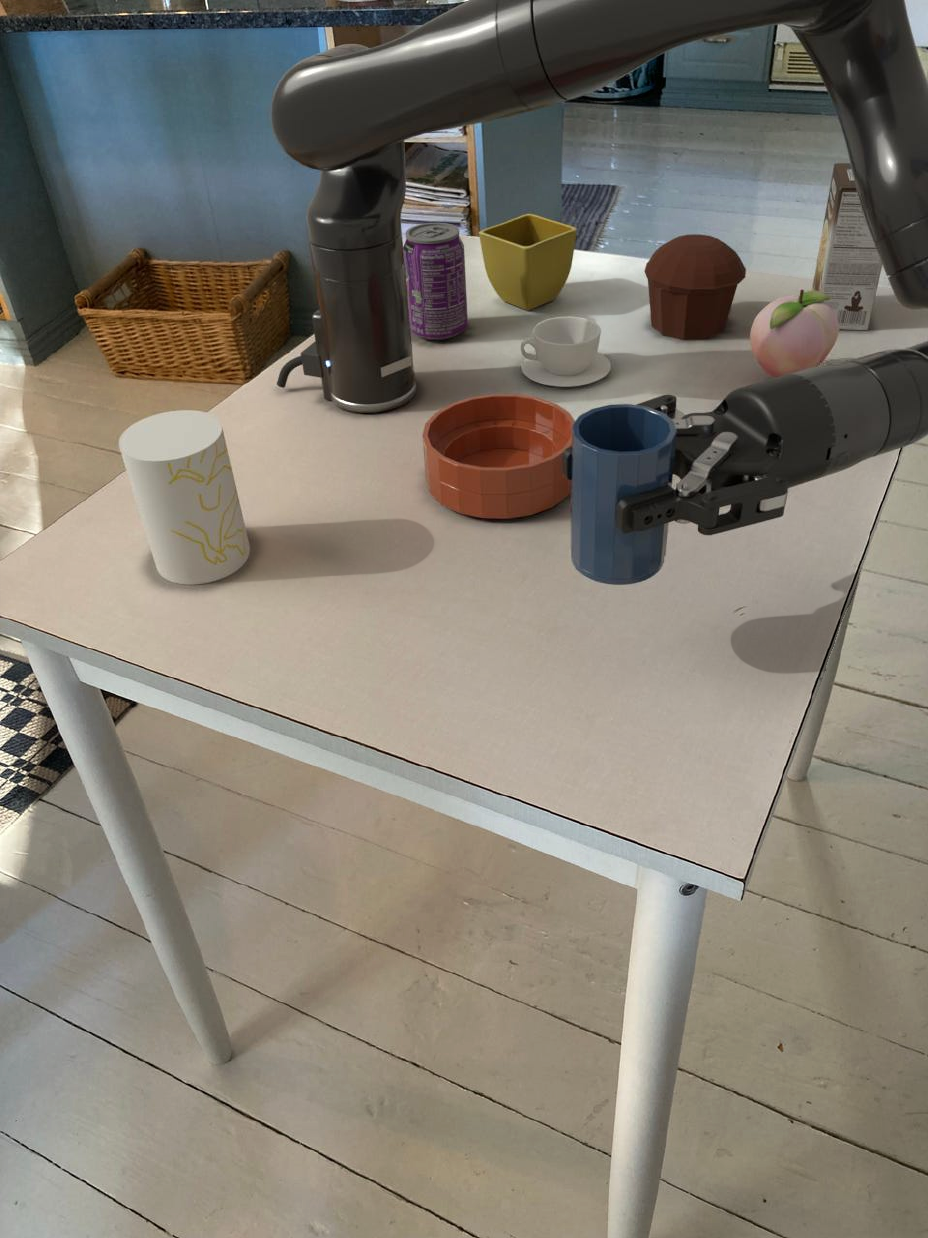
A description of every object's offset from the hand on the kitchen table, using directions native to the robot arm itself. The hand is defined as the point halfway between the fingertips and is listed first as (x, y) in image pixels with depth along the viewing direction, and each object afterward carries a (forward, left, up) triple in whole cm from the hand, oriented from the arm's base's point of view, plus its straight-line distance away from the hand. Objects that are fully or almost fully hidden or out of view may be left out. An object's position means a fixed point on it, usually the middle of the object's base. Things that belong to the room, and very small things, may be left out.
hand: (591, 490), depth 64 cm
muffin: (-7, +62, -15) cm, 64 cm away
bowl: (-15, +22, -15) cm, 31 cm away
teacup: (-17, +46, -15) cm, 51 cm away
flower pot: (-28, +63, -15) cm, 70 cm away
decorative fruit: (+6, +51, -15) cm, 53 cm away
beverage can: (-35, +51, -15) cm, 64 cm away
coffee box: (+9, +70, -15) cm, 72 cm away
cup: (-35, +2, -15) cm, 39 cm away
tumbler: (+2, +2, -6) cm, 6 cm away
